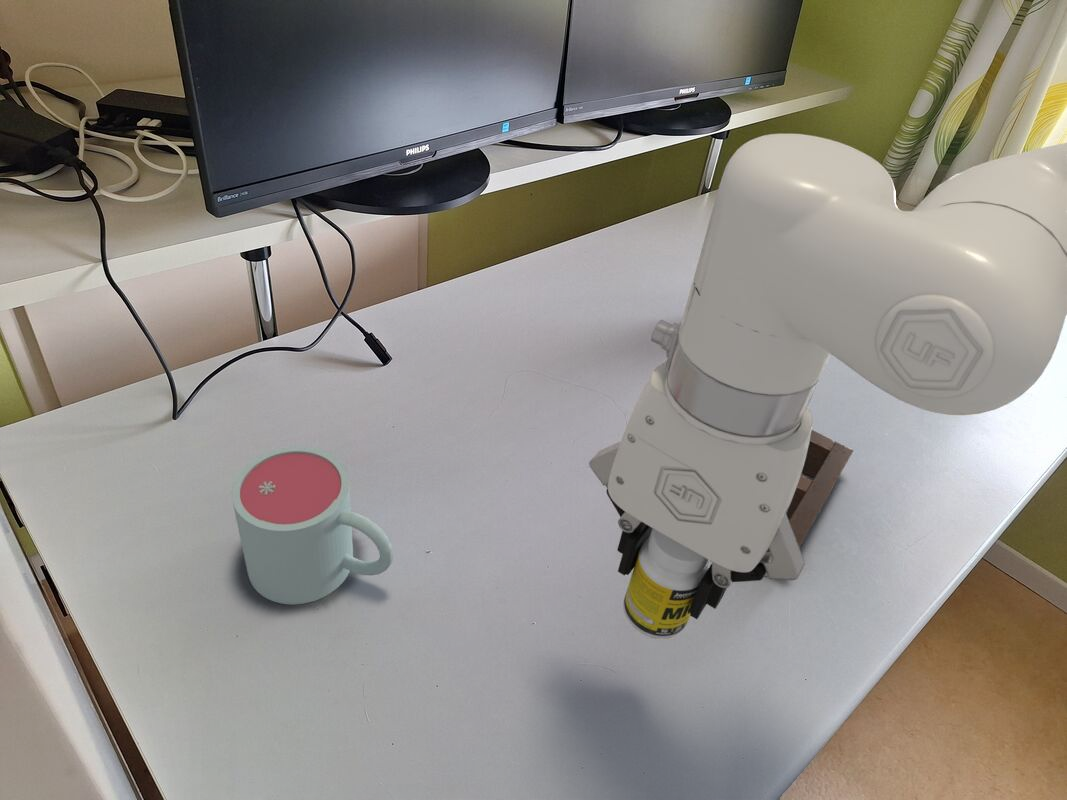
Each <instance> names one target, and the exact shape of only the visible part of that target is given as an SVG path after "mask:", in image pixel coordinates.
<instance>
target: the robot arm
mask: <svg viewBox="0 0 1067 800" xmlns="http://www.w3.org/2000/svg"><path fill="white" fill-rule="evenodd" d="M725 165H726V166H725V168H724V170H723V173H722V176H721V179H720V182H719V185H718V189H717V192H716V196H715V200H714V203H713V207H712V211H711V214H710V218H709V221H708V225H707V228H706V232H705V236H704V239H703V243H702V247H701V251H700V254H699V258H698V261H697V264H696V267H695V268H696V269H695V272H694V275H693V278H692V281H691V282H692V283H691V285H690V290H689V294H688V297H687V300H686V304H685V308H684V311H683V315H682V318H681V322H680V323H679V324H678V323H675V322H673V323H670V322H667V321H665V320H663V319H661V320H659V321H658V322H657V323H656V324H655V326H654V327H653V329H652V332H651V336H650V341H651V343H654V344H656V345H658V346H661V349H662V350H663V351H665V354H666V358H667V359H666V360H664V361H663V362H662V363H661V364H659V365H658V366H657V367H655V368H654V369H653V371H652V372H651V374H650V375H649V377H648V379H647V380H646V383H645V384H644V386H643V388H642V390H641V392H640V395H639V396H638V399H637V401H636V402H635V405H634V407H633V410H632V412H631V415H630V417H629V419H628V421H627V424H626V427H625V430H624V432H623V434H622V438H621V440H620V441H619V442H616V443H614V444H612V445H609V446H606V447H604V448H602V449H601V450H599V451H598V452H597V453H596V454H595V455H594V456H593V457H592V458H591V459H590V460H589V462H588V465H589V467H590V469H591V470H592V472H593V473H594V475H595V476H596V478H597V479H598V480H599V482H600V483H601V484H602V486H605V487H606V495H607V497H608V498H609V500H610V502H611V504H612V506H613V507H614V508H615V511H616V512H617V513H618V515H619V516H620V518H618V520H617V524H618V527H619V528H620V529H621V530H622V532H621V535H620V538H619V542H618V546H617V549H616V550H617V552H618V553H620V554H621V558H620V562H619V566H618V569H617V572H618V573H619V574H621V575H622V576H629V575H630V573H632V572H633V570H634V567H635V563H636V560H637V557H638V553H639V550H640V548H641V546H642V544H643V543H644V541H645V540H646V539H647V538H649V537H650V534H651V532H652V529H653V528H654V529H655V530H657V531H659V532H660V533H662V534H664V535H666V536H667V537H669V538H671V539H673V540H674V541H676V542H678V543H680V544H681V545H683V546H685V547H687V548H689V549H690V550H692V551H694V552H696V553H698V554H699V555H701V556H703V557H705V558H707V559H708V561H710V562H711V564H710V565H709V569H708V570H707V572H706V573H705V575H704V576H703V578H702V580H701V582H700V584H699V587H698V589H697V591H696V594H695V596H694V599H693V601H692V604H691V606H690V609H689V611H688V612H689V613H691V614H690V617H692V618H694V619H695V620H698V618H699V617H700V615H701V614H702V612H703V611H704V609H705V607H706V606H707V605H708V606H709V607H711V608H713V609H714V610H715V609H716V608H717V607H718V606H719V604H720V602H721V601H722V598H723V597H724V595H725V593H726V591H727V589H728V588H729V587H730V586H731V585H732V584H733V583H740V582H741V583H742V582H757V581H759V582H760V581H761V580H763V579H764V578H769V580H781V581H783V580H785V581H795V580H797V579H799V576H800V574H801V572H802V571H803V569H804V567H805V564H806V561H805V558H804V555H803V554H802V551H801V547H800V548H799V546H798V543H797V541H796V538H795V535H794V533H793V530H792V528H791V525H790V523H789V520H790V519H788V518H787V515H786V513H787V511H788V508H789V506H790V503H791V501H792V498H793V496H794V493H795V490H796V488H797V485H798V482H799V479H800V476H801V475H802V473H803V472H802V470H803V466H804V463H805V459H806V455H807V451H808V446H809V442H810V436H811V430H813V415H812V412H811V409H810V408H809V407H808V406H809V404H810V402H811V400H812V398H813V395H814V393H815V391H816V389H817V387H818V384H819V382H820V380H821V377H822V375H823V373H824V371H825V368H826V366H827V364H828V361H829V360H830V358H831V356H833V357H834V358H836V359H837V360H839V362H841V363H842V364H844V365H845V366H847V367H848V368H850V370H852V371H854V372H855V373H857V374H858V375H859V376H861V377H862V378H863V379H865V380H866V381H868V382H869V383H871V384H872V385H874V386H875V387H876V388H878V389H879V390H881V391H883V392H885V393H886V394H889V395H890V396H891V397H894V398H895V399H897V400H898V401H901V402H903V403H904V404H908V405H910V406H913V407H915V408H918V409H920V410H923V411H927V412H931V413H935V414H939V415H940V414H941V415H946V416H947V415H948V416H970V415H971V416H972V415H980V414H984V413H987V412H991V411H995V410H997V409H1001V408H1003V407H1005V406H1006V405H1009V404H1010V403H1012V402H1014V401H1015V400H1017V399H1018V398H1020V397H1021V396H1023V395H1024V394H1025V393H1026V392H1028V390H1029V389H1030V388H1032V387H1033V386H1034V385H1035V384H1036V383H1037V381H1038V380H1039V379H1040V378H1041V376H1042V375H1043V373H1044V372H1045V370H1046V369H1047V367H1048V366H1049V363H1050V362H1051V360H1052V358H1053V356H1054V353H1055V351H1056V349H1057V346H1058V343H1059V340H1060V337H1061V335H1062V331H1063V328H1064V325H1065V321H1066V319H1067V142H1064V143H1059V144H1055V145H1049V146H1045V147H1041V148H1035V149H1033V150H1032V149H1031V150H1027V151H1023V152H1019V153H1014V154H1010V155H1006V156H1002V157H999V158H995V159H991V160H988V161H986V162H982V163H980V164H978V165H975V166H972V167H969V168H966V169H965V170H963V171H961V172H959V173H956V174H954V175H953V176H951V177H949V178H948V179H946V180H944V181H943V182H942V183H940V184H938V185H937V186H936V187H935V188H933V190H931V191H930V192H929V193H928V194H927V195H926V196H925V197H924V198H923V199H922V200H921V201H920V202H919V203H918V204H917V205H916V207H915V208H914V209H913V210H901V209H900V208H898V205H897V204H896V201H897V197H896V195H897V194H896V193H897V192H896V189H895V185H894V180H893V179H892V177H891V175H890V174H889V172H888V171H887V169H886V168H885V167H884V166H883V165H882V164H881V163H880V162H879V161H877V160H876V159H875V158H874V157H872V156H871V155H869V154H866V153H865V152H863V151H861V150H859V149H856V148H854V147H853V146H850V145H847V144H845V143H842V142H839V141H836V140H834V139H833V140H832V139H829V138H825V137H822V136H816V135H811V134H802V133H770V134H765V135H762V136H758V137H755V138H753V139H751V140H748V141H747V142H745V143H743V144H742V145H741V146H740V147H739V148H737V149H736V151H735V152H734V153H733V155H732V156H731V157H730V158H729V160H728V162H727V164H725ZM768 548H769V550H770V552H768V551H767V550H768Z"/></svg>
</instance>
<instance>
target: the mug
mask: <svg viewBox="0 0 1067 800" xmlns="http://www.w3.org/2000/svg"><path fill="white" fill-rule="evenodd" d="M349 480H350V479H349V474H348V472H347V470H346V467H345V465H344V464H343V463H342V462H341V461H340V460H339V459H338V457H335V456H334V455H332V454H331V453H329V452H328V451H325V450H322V449H319V448H316V447H311V446H302V445H296V446H295V445H294V446H293V445H292V446H285V447H280V448H275V449H273V450H269V451H267V452H264V453H262V454H260V455H259V456H257V457H255V458H254V459H252V460H251V461H249V462H248V463H247V464H246V465H245V466H243V468H242V469H241V470H240V471H239V473H238V474H237V476H236V477H235V479H234V481H233V484H232V487H231V500H232V506H233V510H234V514H235V519H236V524H237V530H238V534H239V539H240V542H241V549H242V552H243V557H244V562H245V566H246V571H247V576H248V579H249V582H250V584H251V585H252V587H253V589H254V590H255V591H256V592H257V593H258V594H259V595H261V596H262V597H264V598H265V599H266V600H269V601H271V602H274V603H278V604H283V605H303V604H308V603H309V604H310V603H312V602H316V601H319V600H321V599H323V598H325V597H327V596H329V595H330V594H332V593H333V592H335V591H336V590H337V589H338V588H339V587H340V586H341V585H342V584H343V583H344V582H345V580H346V579H347V578H348V576H349V574H350V572H351V573H353V574H358V575H361V576H376V575H381V574H382V573H384V572H386V571H388V569H389V567H390V566H391V565H392V563H393V559H394V550H393V545H392V542H391V541H390V539H389V537H388V536H387V535H386V533H385V532H384V530H383V529H382V528H381V527H379V526H378V525H377V524H376V523H375V522H374V521H372V520H370V519H369V518H368V517H366V516H364V515H361V514H359V513H358V512H353V511H351V495H350V481H349ZM352 528H354V529H355V530H358V531H359V532H361V533H362V534H364V535H365V536H366V537H367V538H369V539H370V540H371V541H372V542H373V543H374V545H375V547H376V548H377V549H378V553H379V558H378V559H377V560H374V561H366V560H362V559H359V558H356V557H354V547H353V529H352Z"/></svg>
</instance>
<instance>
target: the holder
mask: <svg viewBox="0 0 1067 800" xmlns="http://www.w3.org/2000/svg"><path fill="white" fill-rule="evenodd" d="M853 453H854V449H852V448H850V447H848V446H847V445H844V444H842V443H841V442H838V441H836V440H834V439H833V438H831V437H828V436H826V435H824V434H822V433H820V432H818V431H816V430H814V429H812V430H811V436H810V442H809V446H808V451H807V455H806V459H805V463H804V466H803V470H802V473H803V474H805V475H807V476H809V477H811V478H813V480H811V479H810V478H808V477H806V476H804V475H803V474H801V476H800V479H799V482H798V485H797V488H796V490H795V493H794V496H793V498H792V501H791V503H790V506H789V508H788V511H787V513H786V515H787V518H788V520H789V523H790V525H791V528H792V530H793V533H794V535H795V538H796V541H797V543H798V546H799V548H800V549H801V546H802V544H803V542H804V540H805V539H806V537H807V535H808V533H809V531H810V529H811V528H812V526H813V524H814V523H815V521H816V519H817V517H818V516H819V513H820V512H821V510H822V508H823V506H824V505H825V503H826V502H827V499H828V497H829V496H830V494H831V492H832V490H833V488H834V486H835V485H836V483H837V481H838V479H839V477H840V475H841V474H842V473H843V470H844V469H845V467H846V465H847V463H848V461H850V458H851V456H852V454H853ZM767 551H768V552H770V550H769V548H768V550H767Z"/></svg>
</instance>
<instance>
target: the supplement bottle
mask: <svg viewBox="0 0 1067 800" xmlns="http://www.w3.org/2000/svg"><path fill="white" fill-rule="evenodd" d="M709 567H710V564H709V560H708V559H707V558H705V557H703V556H701V555H699V554H698V553H696V552H694V551H692V550H690V549H689V548H687V547H685V546H683V545H681V544H680V543H678V542H676V541H674V540H673V539H671V538H669V537H667V536H666V535H664V534H662V533H660V532H659V531H657V530H655V529H654V528H653V529H652V532H651V534H650V537H649V538H647V539H646V540H645V541H644V543H643V544H642V546H641V548H640V550H639V553H638V557H637V560H636V563H635V567H634V568H633V569H632V572H631V575H630V579H629V582H628V586H627V589H626V592H625V595H624V598H623V612H624V615H625V618H626V620H627V622H628V623H629V624H630V625H631V626H632V627H633V629H635V630H636V631H637V632H639V633H640V634H641V635H643V636H646V637H648V638H651V639H655V640H656V639H657V640H667V639H671V638H674V637H676V636H677V635H679V634H680V633H682V632H683V631H684V629H685V628H686V626H687V624H688V623H689V620H690V617H691V616H690V614H691V613H689V612H688V611H689V609H690V606H691V604H692V601H693V599H694V596H695V594H696V591H697V589H698V587H699V584H700V582H701V580H702V578H703V576H704V575H705V573H706V572H707V570H708V569H709Z"/></svg>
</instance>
